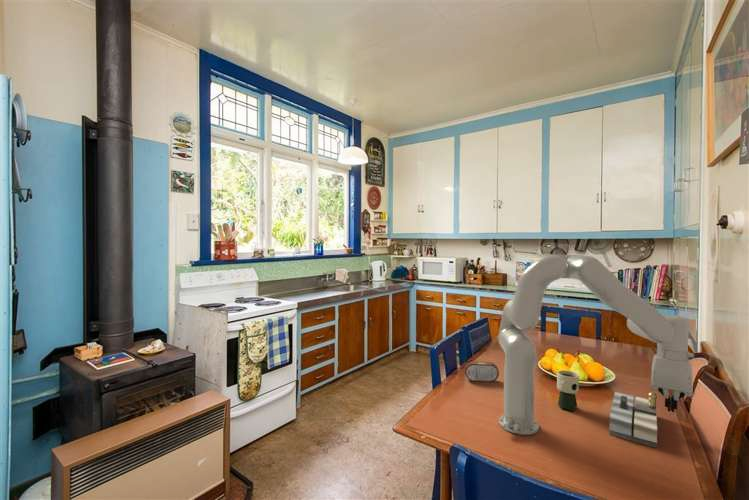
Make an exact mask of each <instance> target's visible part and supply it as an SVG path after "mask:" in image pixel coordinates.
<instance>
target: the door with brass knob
mask: <svg viewBox="0 0 749 500" xmlns="http://www.w3.org/2000/svg"><path fill="white" fill-rule="evenodd" d="M647 396H648V399H649V404H648V406H647V405H642V404H638V403H634V407H635V409H639V410H643V411H647V412H652V413H656V414H657V399H658V395H657V394H656V393H655V392H653V391H650V392H648V394H647Z"/></svg>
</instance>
